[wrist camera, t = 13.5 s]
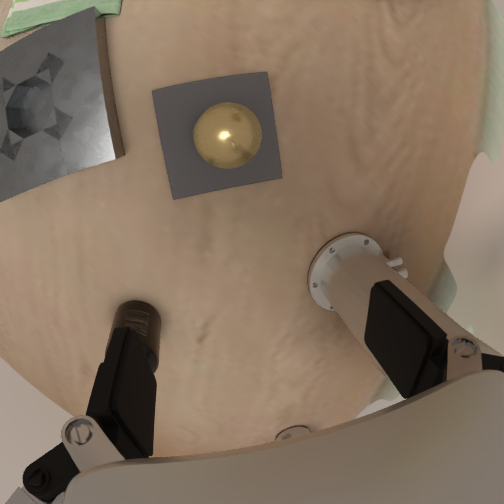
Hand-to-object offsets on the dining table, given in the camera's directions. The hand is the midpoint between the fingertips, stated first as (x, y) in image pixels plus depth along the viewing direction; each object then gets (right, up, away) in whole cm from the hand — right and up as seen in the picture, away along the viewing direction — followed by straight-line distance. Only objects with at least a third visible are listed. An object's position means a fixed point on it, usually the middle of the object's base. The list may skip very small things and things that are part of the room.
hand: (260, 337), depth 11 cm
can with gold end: (-4, +16, +20) cm, 26 cm away
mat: (-4, +17, +21) cm, 27 cm away
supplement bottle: (-16, -6, +29) cm, 34 cm away
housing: (-25, +20, +15) cm, 35 cm away
